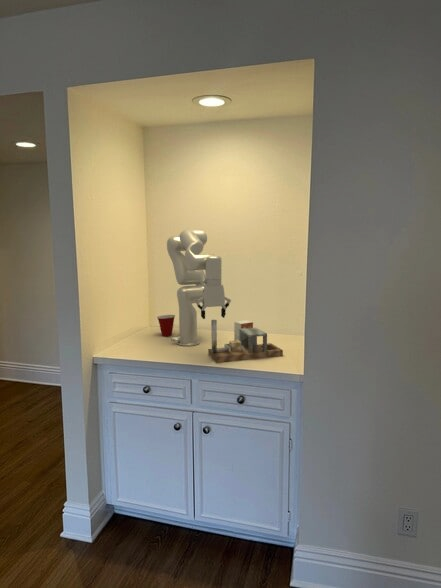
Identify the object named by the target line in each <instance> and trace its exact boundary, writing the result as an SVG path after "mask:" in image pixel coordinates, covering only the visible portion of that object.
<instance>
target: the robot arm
mask: <svg viewBox="0 0 441 588" xmlns="http://www.w3.org/2000/svg"><path fill="white" fill-rule="evenodd" d="M207 241H208V235H207V233H206V231H204V230H203V229H191V228H190V229H183V230H182V231H181V232H180V233H179V235H173V236H170V237H169V238H167V241H166V250H167V253H168V256H169V258H170V260H171V262H172V266H173V270H174V274H175V279H176V282H177V284H179V285H180V286H181V287H179V288H178V289H177V292H176V297H177V302H178V315H179V316H178V321H179V324H178V325H179V334H178V335H177V336H170V341H171V342H176V344H177V345H179V346H183V347H192V346H197V345H199V344H200V343H201V340H200V339H198V321H197V320H198V316H197V310H196V307H194V305H193V304H196V306H197V307H198V309H199V310H200V316H201V318H202V319H203V320H205V319H206V310H205V309H206V308H216V307H221V311H220V312H221V314H220V316H221V317H222V318H223V319H224V318H225V316H227V315H226V314H227V313H226V310H227V308H228V307H229V306H230V304H231V302H232V299H230V298H228V297H226V296H225V289H224V288H225V287H224V285H223V284H222V262H223V261H222V257H221V256H219V255H215V254H214V253H213V254H211V253H208V254H207V253H206V254H205V253H202V252H203V250H204V246H205V245H206V244H207ZM182 252H184V253H182ZM201 253H202V254H201ZM225 301H226V302H225ZM200 303H201V304H200Z"/></svg>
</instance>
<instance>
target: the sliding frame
mask: <svg viewBox="0 0 441 588" xmlns="http://www.w3.org/2000/svg"><path fill="white" fill-rule="evenodd" d="M210 321H211V325H210V326H211V327H210V328H211V329H210V330H211V331H210V332H211V349H212V353H216V352H225V351H228V352H229V353H231V348H230V347H229V343H224V347H220V348H221V349H217V348H218V344H217V343H218V339H217V338H218V335H217V334H218V332H217V330H218V329H217V327H218V325H217V323H218V322H217V319H211V320H210ZM241 351H242V352H243V351H244V346H242V345H241Z"/></svg>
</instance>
